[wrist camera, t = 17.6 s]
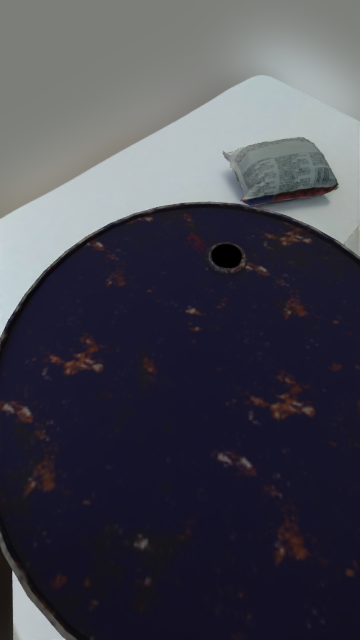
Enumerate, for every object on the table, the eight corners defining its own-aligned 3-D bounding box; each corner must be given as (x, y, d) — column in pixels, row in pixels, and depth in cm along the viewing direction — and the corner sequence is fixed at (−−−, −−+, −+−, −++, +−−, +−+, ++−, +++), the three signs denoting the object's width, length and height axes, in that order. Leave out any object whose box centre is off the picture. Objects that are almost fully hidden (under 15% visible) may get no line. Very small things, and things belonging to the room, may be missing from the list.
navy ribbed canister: (254, 511, 16) (572, 861, 3) (110, 475, 17) (-154, 605, 4) (264, 364, 20) (415, 221, 7) (147, 342, 22) (80, 180, 8)
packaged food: (220, 171, 34) (225, 130, 29) (305, 159, 34) (323, 117, 30) (237, 219, 30) (247, 181, 25) (332, 205, 31) (358, 165, 26)
